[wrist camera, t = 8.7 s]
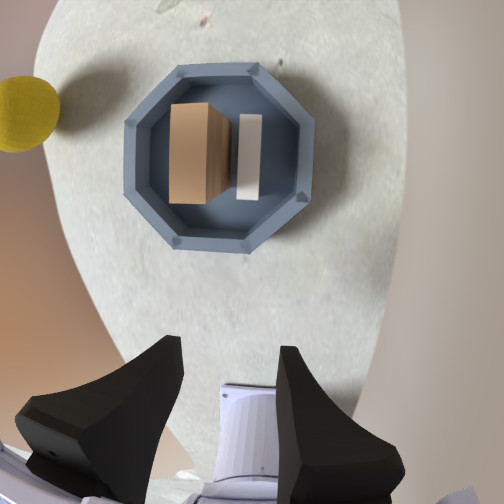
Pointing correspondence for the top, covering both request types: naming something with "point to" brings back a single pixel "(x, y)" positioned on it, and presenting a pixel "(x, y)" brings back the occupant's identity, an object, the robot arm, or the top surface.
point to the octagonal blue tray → (242, 158)
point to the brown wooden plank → (198, 153)
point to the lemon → (26, 113)
